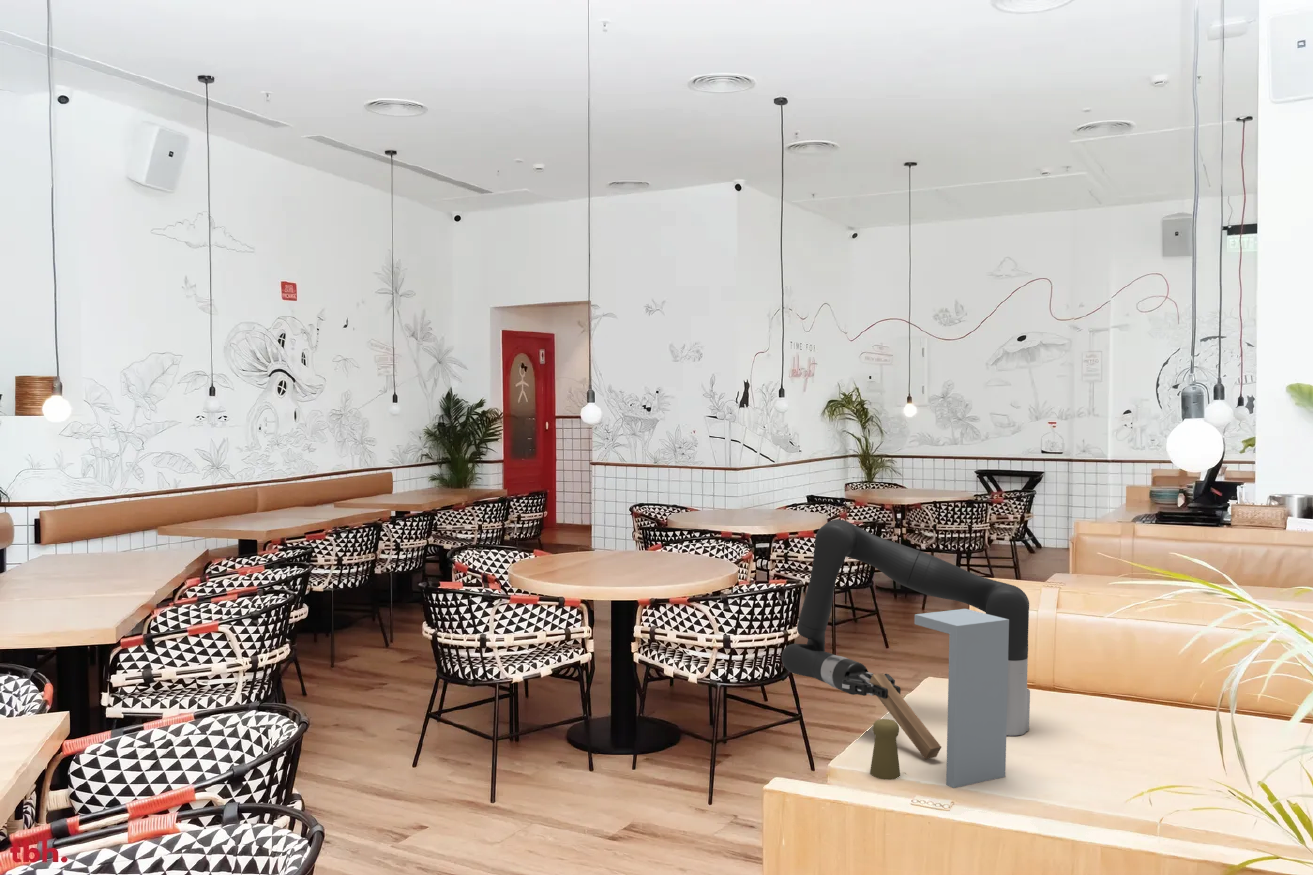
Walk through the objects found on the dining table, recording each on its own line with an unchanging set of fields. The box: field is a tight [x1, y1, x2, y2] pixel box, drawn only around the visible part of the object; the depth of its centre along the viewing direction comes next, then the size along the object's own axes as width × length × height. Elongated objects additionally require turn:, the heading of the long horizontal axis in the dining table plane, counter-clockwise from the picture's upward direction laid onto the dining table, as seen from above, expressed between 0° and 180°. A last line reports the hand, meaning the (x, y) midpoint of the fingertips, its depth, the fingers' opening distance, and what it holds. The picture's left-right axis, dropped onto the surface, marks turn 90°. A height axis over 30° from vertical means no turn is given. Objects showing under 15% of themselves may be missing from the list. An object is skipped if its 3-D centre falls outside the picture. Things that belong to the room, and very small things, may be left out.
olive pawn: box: [869, 718, 901, 780], centre depth 212 cm, size 6×6×11 cm
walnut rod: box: [870, 673, 942, 760], centre depth 228 cm, size 3×22×3 cm
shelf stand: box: [914, 608, 1009, 789], centre depth 213 cm, size 14×12×32 cm
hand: (892, 693), depth 231 cm, fingers closed on walnut rod, 3 cm apart
